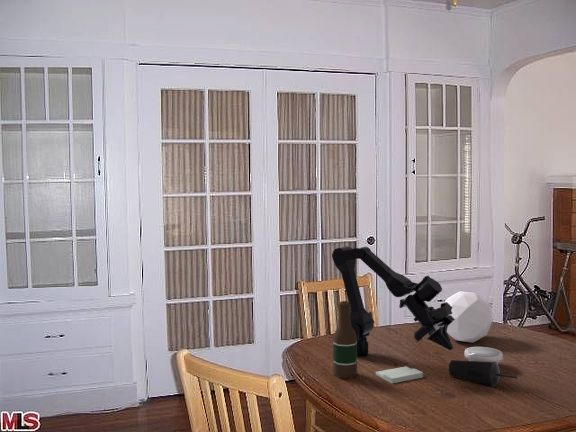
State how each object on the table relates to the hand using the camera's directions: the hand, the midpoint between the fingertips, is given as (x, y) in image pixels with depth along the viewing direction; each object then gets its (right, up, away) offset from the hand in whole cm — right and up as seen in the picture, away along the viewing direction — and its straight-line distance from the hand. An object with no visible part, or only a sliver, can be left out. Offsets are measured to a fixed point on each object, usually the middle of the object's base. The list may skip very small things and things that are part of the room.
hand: (451, 349), depth 180 cm
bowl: (+13, -8, +8) cm, 17 cm away
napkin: (-17, -9, +1) cm, 19 cm away
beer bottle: (-34, -9, +3) cm, 35 cm away
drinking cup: (0, -6, 0) cm, 6 cm away
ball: (+17, -6, +39) cm, 42 cm away
